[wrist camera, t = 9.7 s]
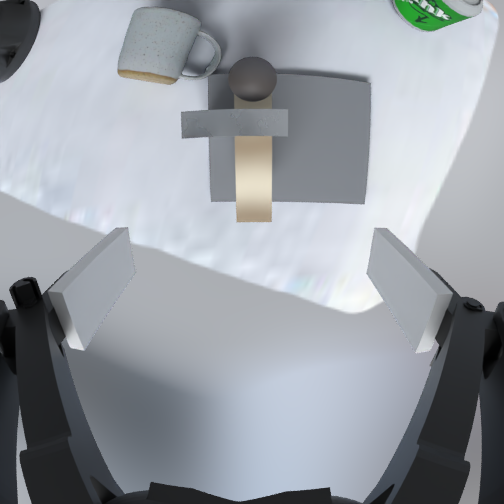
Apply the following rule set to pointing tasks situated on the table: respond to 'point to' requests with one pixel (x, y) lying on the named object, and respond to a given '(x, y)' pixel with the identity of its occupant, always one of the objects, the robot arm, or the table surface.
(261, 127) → the block
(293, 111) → the board
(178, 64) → the ceramic mug
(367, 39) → the table surface
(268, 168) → the lever link
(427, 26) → the soda can
